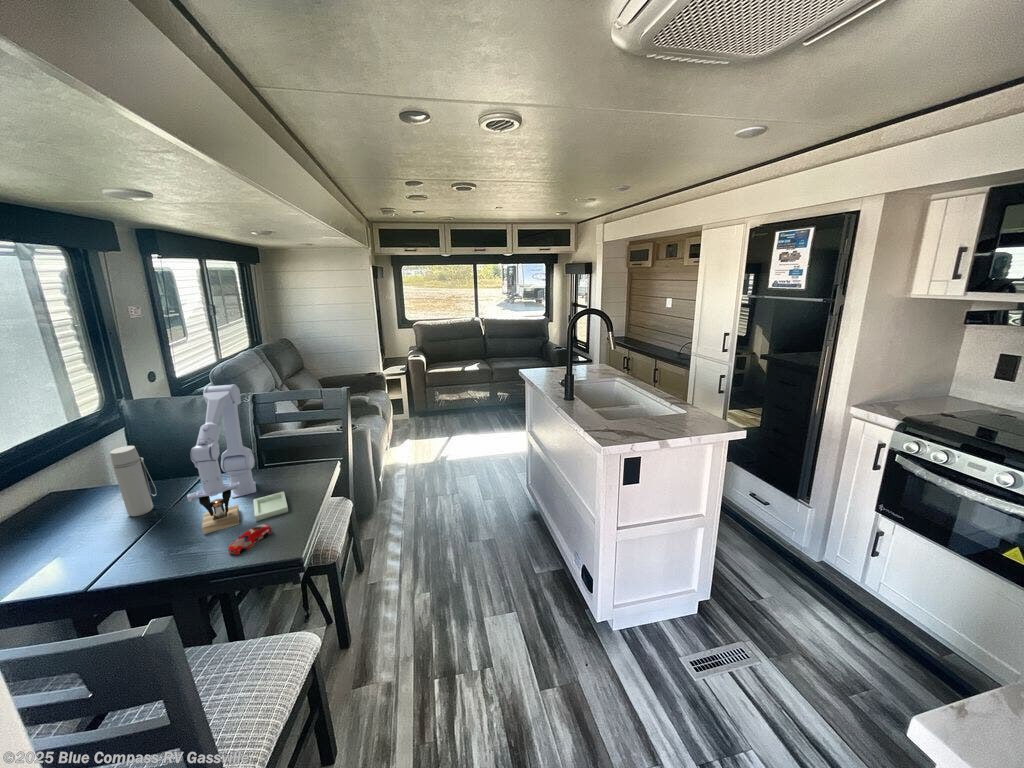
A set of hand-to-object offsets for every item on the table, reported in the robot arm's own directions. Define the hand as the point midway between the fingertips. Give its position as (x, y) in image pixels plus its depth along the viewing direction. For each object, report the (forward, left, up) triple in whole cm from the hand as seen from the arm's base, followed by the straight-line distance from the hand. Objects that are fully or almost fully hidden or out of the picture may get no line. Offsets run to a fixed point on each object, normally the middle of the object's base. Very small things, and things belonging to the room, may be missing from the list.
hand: (219, 512), depth 141 cm
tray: (0, +15, -4) cm, 15 cm away
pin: (0, 0, -4) cm, 4 cm away
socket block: (0, 0, -4) cm, 4 cm away
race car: (+19, +8, -4) cm, 21 cm away
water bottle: (-25, -24, -4) cm, 35 cm away
